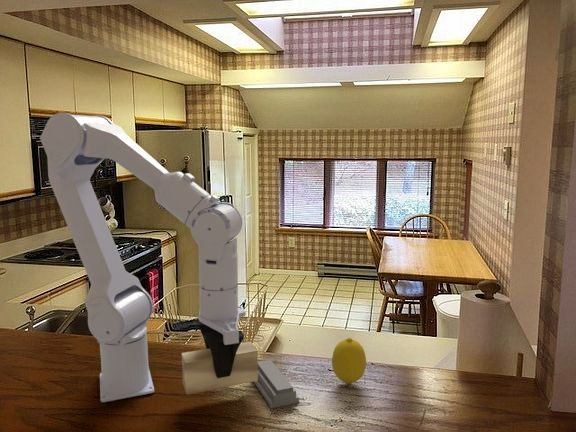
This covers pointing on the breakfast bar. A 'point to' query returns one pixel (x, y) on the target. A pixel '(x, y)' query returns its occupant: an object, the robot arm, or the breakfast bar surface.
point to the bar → (202, 372)
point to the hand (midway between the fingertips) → (220, 370)
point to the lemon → (349, 361)
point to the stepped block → (274, 385)
